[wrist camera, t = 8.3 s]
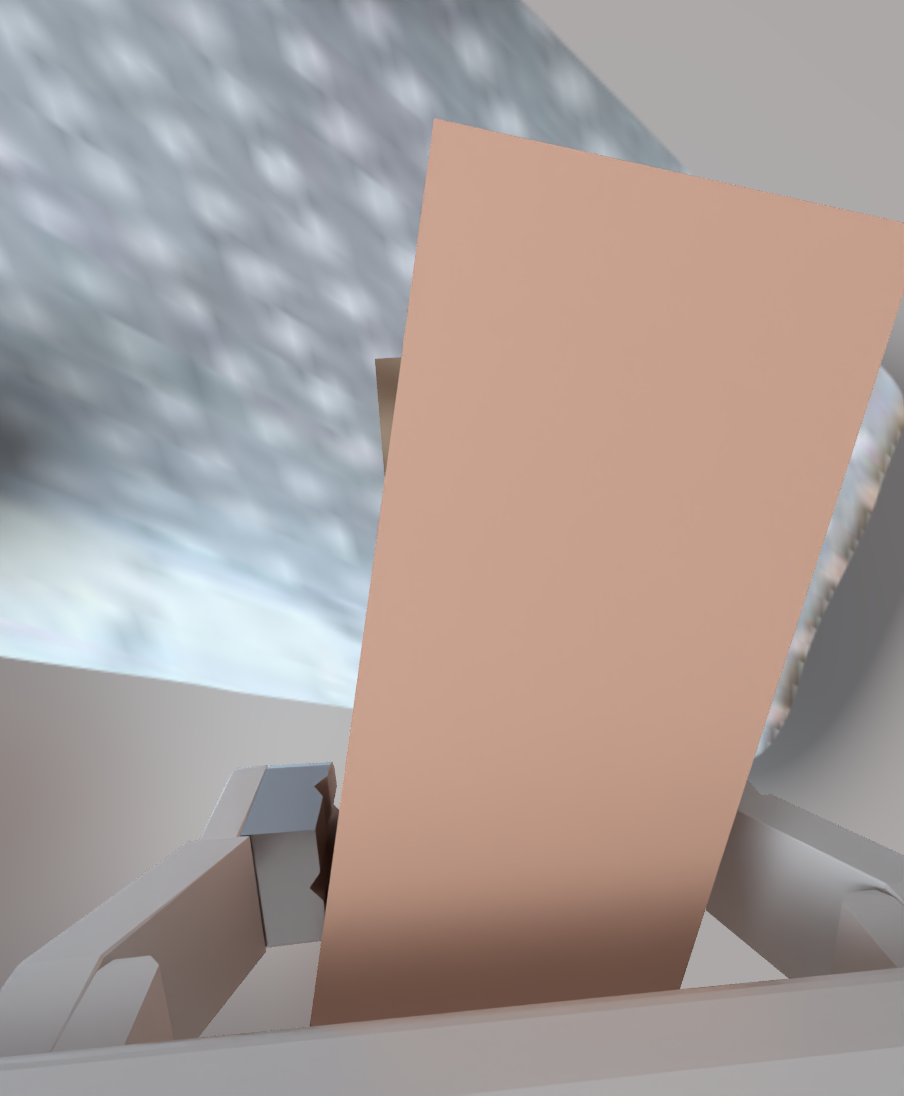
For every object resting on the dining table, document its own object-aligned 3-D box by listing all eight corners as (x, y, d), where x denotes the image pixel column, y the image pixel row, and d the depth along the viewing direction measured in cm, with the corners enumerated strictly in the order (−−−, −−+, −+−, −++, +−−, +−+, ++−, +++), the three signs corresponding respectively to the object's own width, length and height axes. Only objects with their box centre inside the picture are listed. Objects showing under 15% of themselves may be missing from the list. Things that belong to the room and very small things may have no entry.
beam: (421, 268, 9) (434, 117, 4) (663, 316, 10) (924, 227, 5) (311, 1048, 13) (252, 1441, 8) (489, 1056, 13) (536, 1434, 8)
